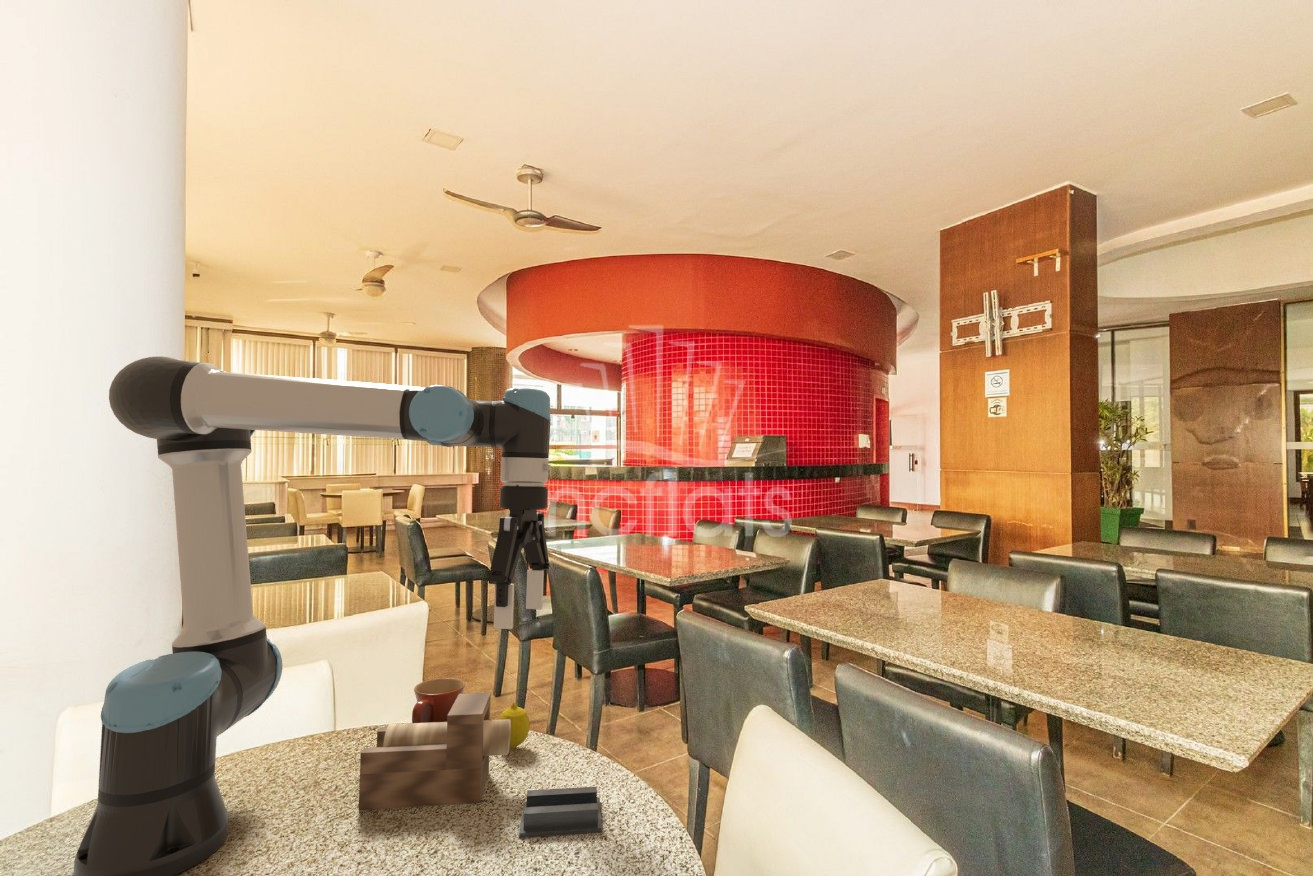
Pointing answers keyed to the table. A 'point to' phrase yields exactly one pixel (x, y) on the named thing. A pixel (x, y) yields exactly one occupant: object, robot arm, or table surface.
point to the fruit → (517, 724)
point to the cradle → (561, 812)
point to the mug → (436, 699)
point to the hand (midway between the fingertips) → (519, 618)
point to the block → (430, 764)
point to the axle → (436, 734)
